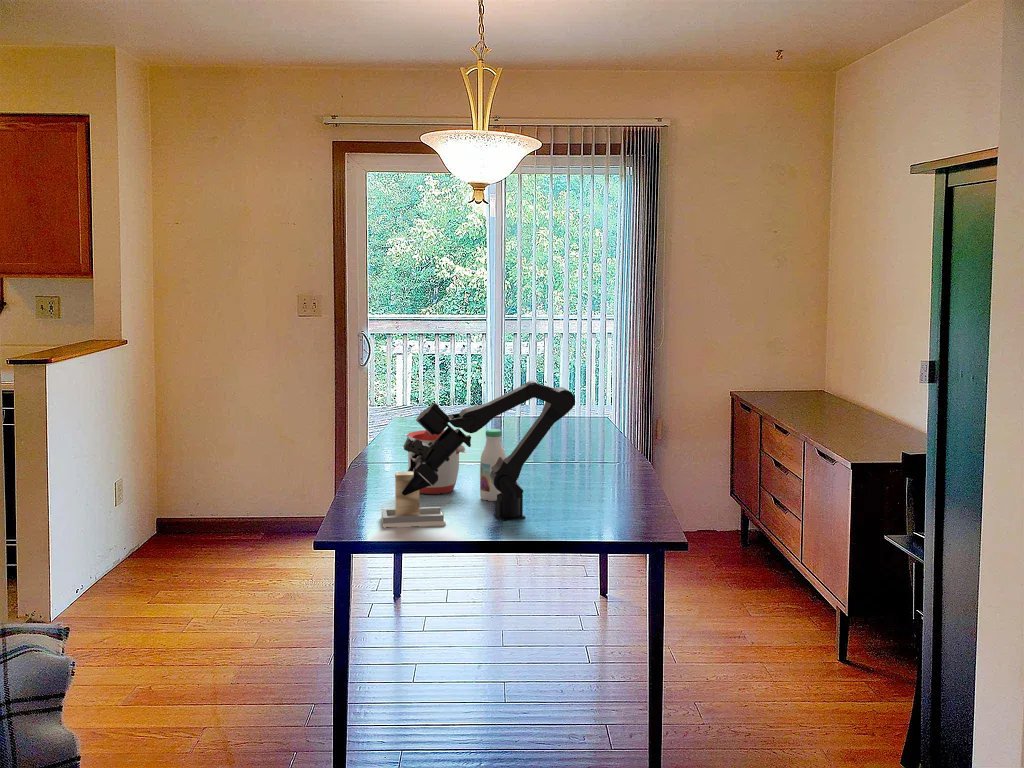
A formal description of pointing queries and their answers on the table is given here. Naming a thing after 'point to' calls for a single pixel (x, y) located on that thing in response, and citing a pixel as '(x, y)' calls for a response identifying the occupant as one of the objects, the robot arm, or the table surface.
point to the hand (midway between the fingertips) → (401, 490)
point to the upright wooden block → (408, 502)
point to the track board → (414, 518)
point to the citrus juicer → (446, 470)
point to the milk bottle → (490, 463)
